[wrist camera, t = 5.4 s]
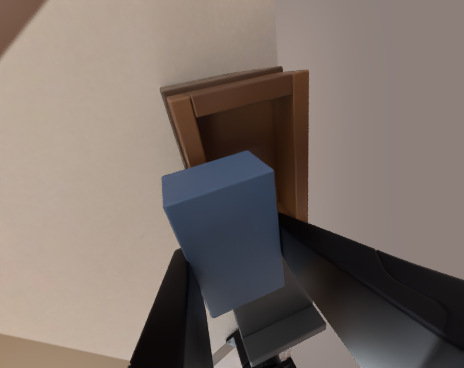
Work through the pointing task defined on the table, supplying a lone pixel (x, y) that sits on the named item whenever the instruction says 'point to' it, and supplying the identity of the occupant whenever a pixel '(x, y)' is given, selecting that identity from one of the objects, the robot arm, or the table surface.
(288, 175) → the tray
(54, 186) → the table surface
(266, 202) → the block
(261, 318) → the lid
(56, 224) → the table surface
